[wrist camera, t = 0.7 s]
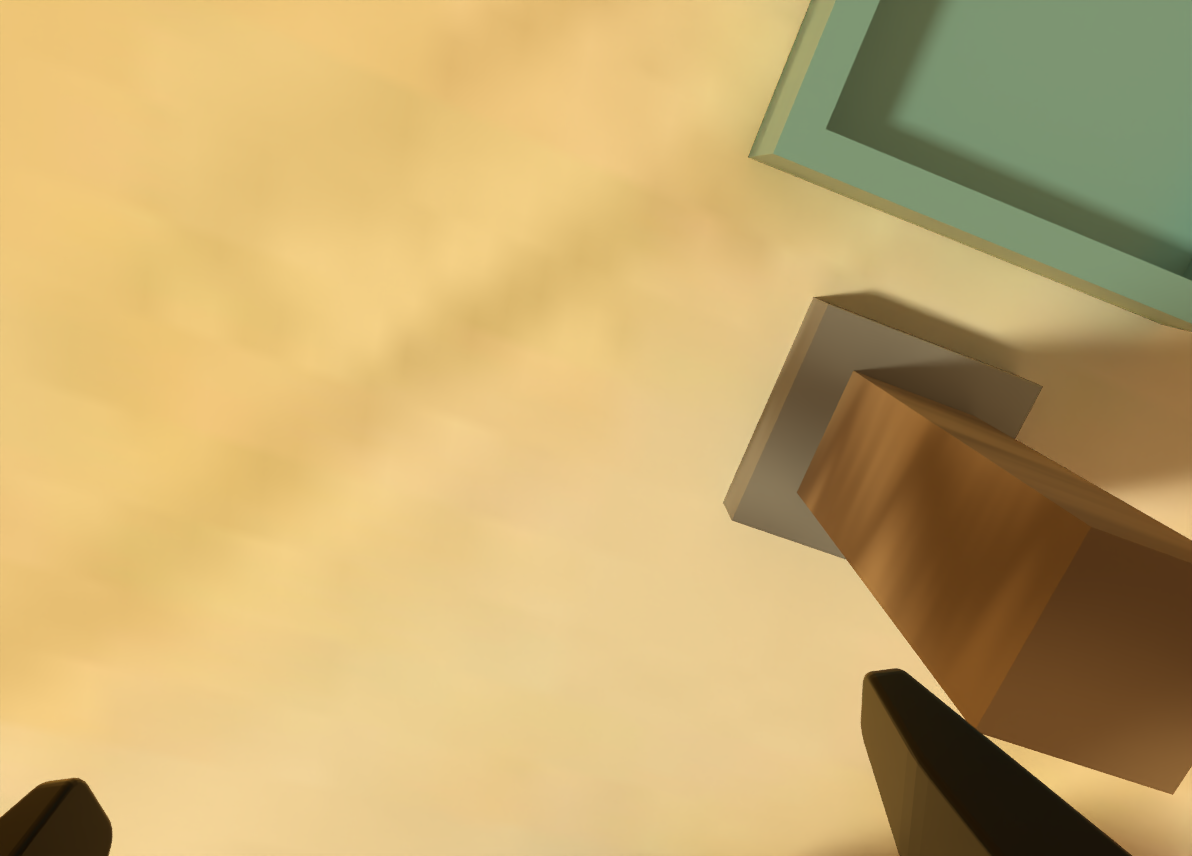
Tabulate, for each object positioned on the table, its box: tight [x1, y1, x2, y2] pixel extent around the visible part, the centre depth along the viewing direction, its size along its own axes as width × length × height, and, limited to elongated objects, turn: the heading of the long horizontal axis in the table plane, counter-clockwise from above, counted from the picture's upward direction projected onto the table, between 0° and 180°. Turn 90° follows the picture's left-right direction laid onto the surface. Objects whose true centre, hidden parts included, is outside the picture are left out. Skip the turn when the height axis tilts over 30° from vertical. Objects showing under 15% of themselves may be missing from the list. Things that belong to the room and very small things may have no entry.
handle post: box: [723, 297, 1192, 795], centre depth 20 cm, size 7×7×13 cm
